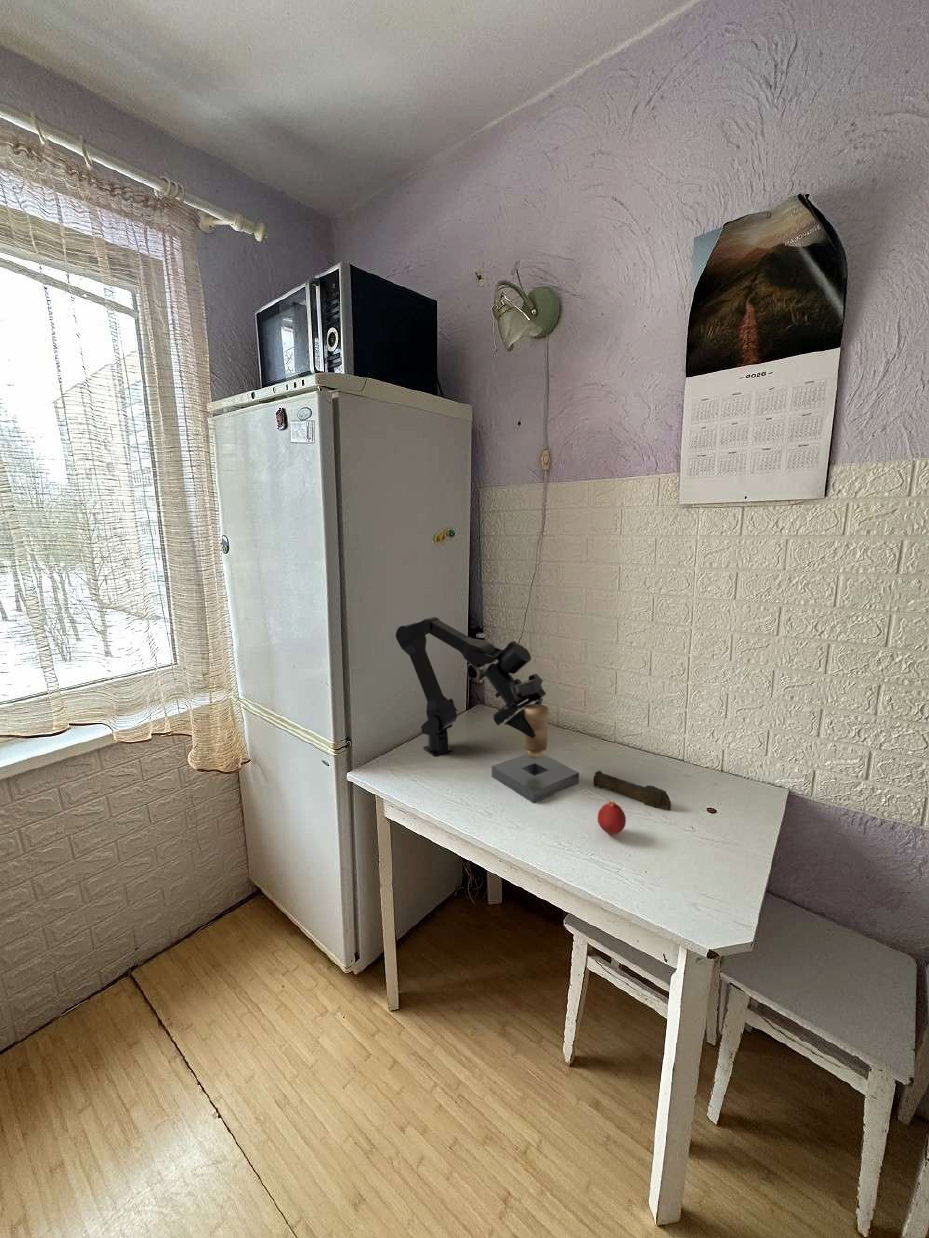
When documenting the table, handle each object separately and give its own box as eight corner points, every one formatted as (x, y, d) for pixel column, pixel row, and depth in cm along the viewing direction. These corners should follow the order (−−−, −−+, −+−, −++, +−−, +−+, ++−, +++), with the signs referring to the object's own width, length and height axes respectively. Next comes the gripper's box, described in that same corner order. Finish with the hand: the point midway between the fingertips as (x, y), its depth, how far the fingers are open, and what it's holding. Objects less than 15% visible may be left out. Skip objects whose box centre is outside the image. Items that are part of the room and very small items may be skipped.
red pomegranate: (603, 823, 112) (605, 790, 111) (629, 833, 109) (631, 799, 107) (592, 835, 108) (594, 801, 107) (618, 846, 104) (620, 811, 103)
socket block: (491, 776, 134) (491, 766, 133) (535, 760, 143) (536, 750, 142) (533, 803, 121) (533, 791, 120) (578, 783, 130) (579, 772, 129)
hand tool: (591, 788, 128) (592, 771, 127) (599, 782, 131) (599, 765, 130) (665, 817, 115) (666, 798, 115) (672, 810, 118) (673, 791, 117)
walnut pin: (521, 759, 129) (522, 710, 126) (525, 749, 134) (526, 702, 132) (544, 762, 127) (546, 713, 124) (548, 752, 132) (549, 705, 130)
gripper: (504, 675, 121) (544, 729, 117) (540, 658, 136) (577, 706, 132) (477, 699, 127) (514, 751, 123) (514, 681, 142) (548, 727, 138)
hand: (540, 732), depth 129 cm, fingers closed on walnut pin, 6 cm apart
